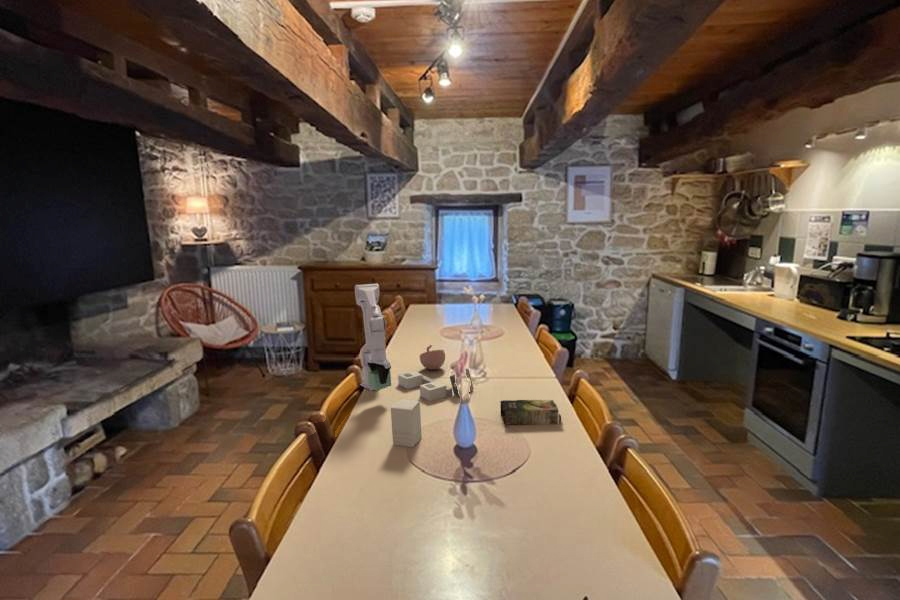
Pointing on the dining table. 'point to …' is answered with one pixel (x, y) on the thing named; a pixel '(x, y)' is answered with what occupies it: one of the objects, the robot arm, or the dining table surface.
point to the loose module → (378, 380)
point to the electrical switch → (455, 384)
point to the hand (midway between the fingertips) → (379, 381)
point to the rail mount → (424, 385)
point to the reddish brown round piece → (432, 358)
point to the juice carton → (530, 412)
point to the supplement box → (406, 422)
